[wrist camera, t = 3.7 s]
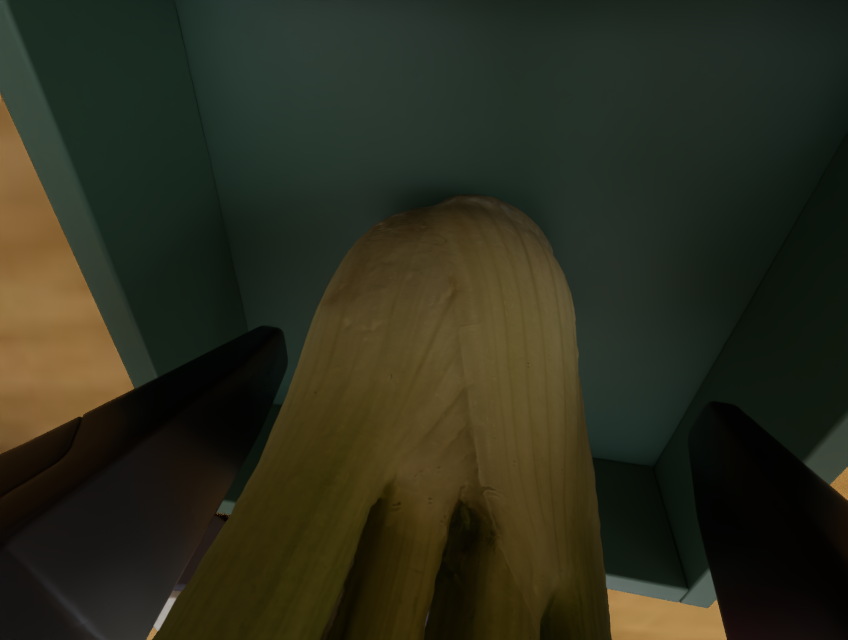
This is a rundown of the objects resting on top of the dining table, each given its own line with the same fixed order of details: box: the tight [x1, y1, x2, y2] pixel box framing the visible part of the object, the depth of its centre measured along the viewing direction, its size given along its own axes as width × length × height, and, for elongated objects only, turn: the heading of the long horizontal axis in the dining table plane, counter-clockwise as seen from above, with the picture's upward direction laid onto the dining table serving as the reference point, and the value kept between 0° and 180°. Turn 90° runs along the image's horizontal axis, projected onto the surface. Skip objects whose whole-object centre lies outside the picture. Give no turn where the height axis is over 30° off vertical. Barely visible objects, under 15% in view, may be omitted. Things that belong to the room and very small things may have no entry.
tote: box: [0, 0, 848, 608], centre depth 11 cm, size 16×15×4 cm
